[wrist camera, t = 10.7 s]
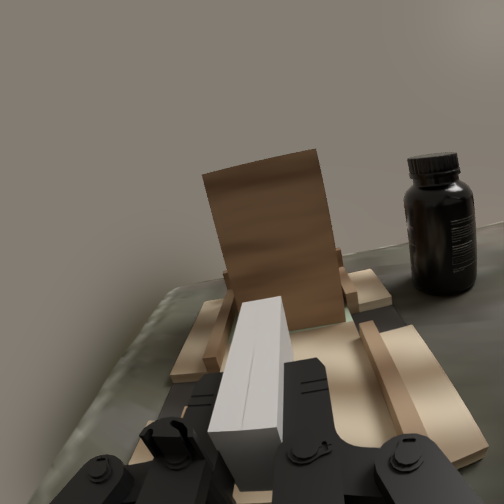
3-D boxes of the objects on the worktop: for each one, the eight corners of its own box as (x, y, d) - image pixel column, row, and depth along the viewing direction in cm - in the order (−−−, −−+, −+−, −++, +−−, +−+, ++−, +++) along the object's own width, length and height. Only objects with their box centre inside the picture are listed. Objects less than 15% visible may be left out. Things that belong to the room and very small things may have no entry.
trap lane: (483, 457, 9) (505, 402, 8) (124, 502, 12) (84, 458, 11) (371, 277, 32) (367, 241, 31) (207, 309, 35) (196, 276, 34)
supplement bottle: (469, 264, 28) (460, 149, 25) (483, 294, 22) (477, 153, 19) (410, 270, 31) (396, 156, 28) (412, 300, 25) (397, 161, 22)
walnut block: (346, 321, 24) (315, 148, 20) (246, 337, 25) (201, 174, 22) (336, 281, 31) (311, 149, 28) (258, 295, 33) (226, 168, 29)
